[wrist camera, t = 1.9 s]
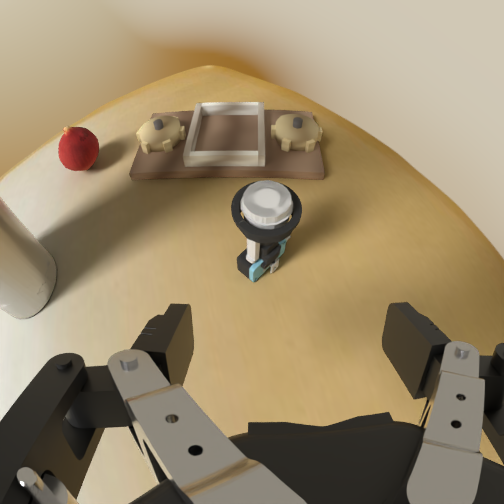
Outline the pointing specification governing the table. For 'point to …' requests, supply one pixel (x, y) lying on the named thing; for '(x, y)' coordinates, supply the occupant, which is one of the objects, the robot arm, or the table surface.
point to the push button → (264, 224)
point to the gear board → (229, 143)
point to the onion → (78, 148)
